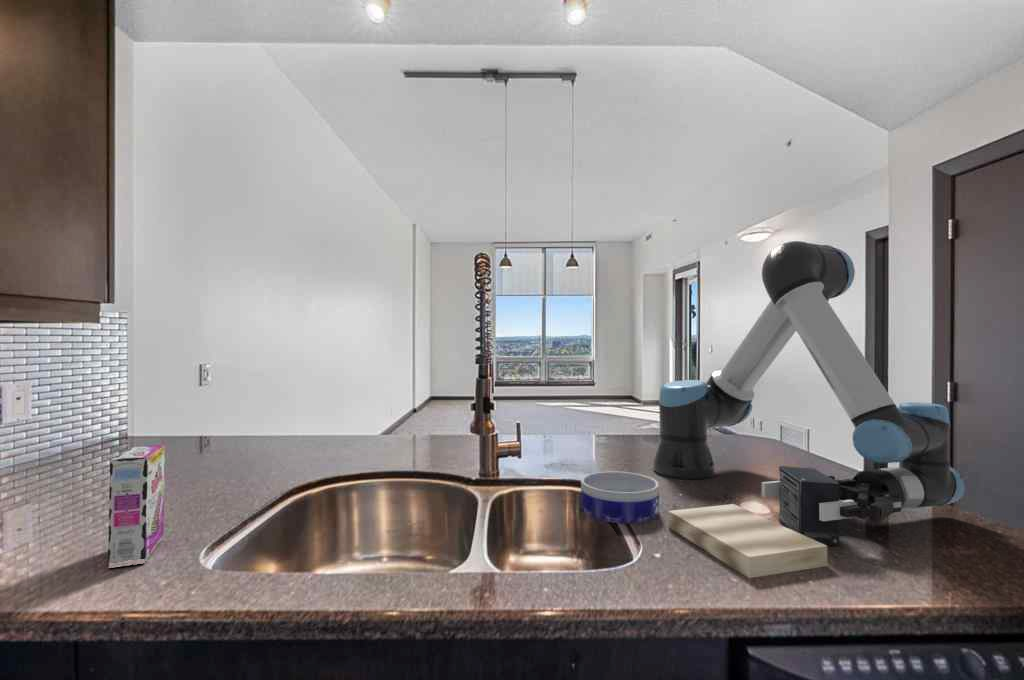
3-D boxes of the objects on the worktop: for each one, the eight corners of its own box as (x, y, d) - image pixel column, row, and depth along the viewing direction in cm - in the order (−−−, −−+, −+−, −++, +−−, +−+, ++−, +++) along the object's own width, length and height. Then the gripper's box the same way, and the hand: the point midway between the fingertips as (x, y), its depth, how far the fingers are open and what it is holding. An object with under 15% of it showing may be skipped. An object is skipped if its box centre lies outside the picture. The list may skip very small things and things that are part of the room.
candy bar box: (147, 564, 75) (147, 457, 75) (106, 571, 73) (106, 460, 73) (166, 538, 85) (166, 443, 85) (130, 542, 83) (131, 446, 83)
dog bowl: (657, 529, 89) (657, 495, 89) (574, 519, 93) (574, 488, 94) (660, 503, 103) (660, 474, 103) (588, 496, 108) (588, 468, 108)
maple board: (668, 527, 89) (668, 511, 89) (733, 519, 92) (733, 503, 92) (749, 578, 69) (749, 557, 69) (827, 566, 73) (827, 545, 73)
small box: (842, 546, 80) (842, 482, 80) (799, 543, 81) (798, 480, 81) (816, 523, 90) (815, 466, 90) (777, 521, 92) (777, 465, 92)
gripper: (959, 534, 79) (855, 550, 73) (828, 491, 102) (740, 500, 96) (959, 488, 79) (855, 499, 73) (827, 455, 102) (740, 462, 96)
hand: (790, 500), depth 85 cm, fingers closed on small box, 12 cm apart
